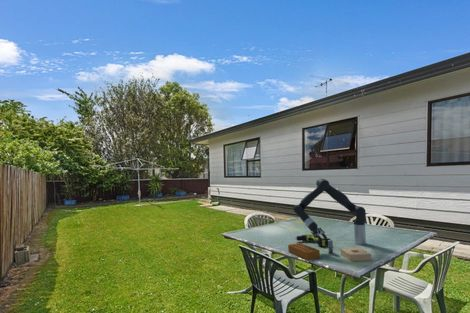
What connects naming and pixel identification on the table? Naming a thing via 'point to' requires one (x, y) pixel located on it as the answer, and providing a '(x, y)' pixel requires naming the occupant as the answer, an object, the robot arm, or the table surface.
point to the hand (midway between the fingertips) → (324, 239)
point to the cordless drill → (313, 239)
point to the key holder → (355, 254)
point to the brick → (304, 251)
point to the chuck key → (330, 246)
